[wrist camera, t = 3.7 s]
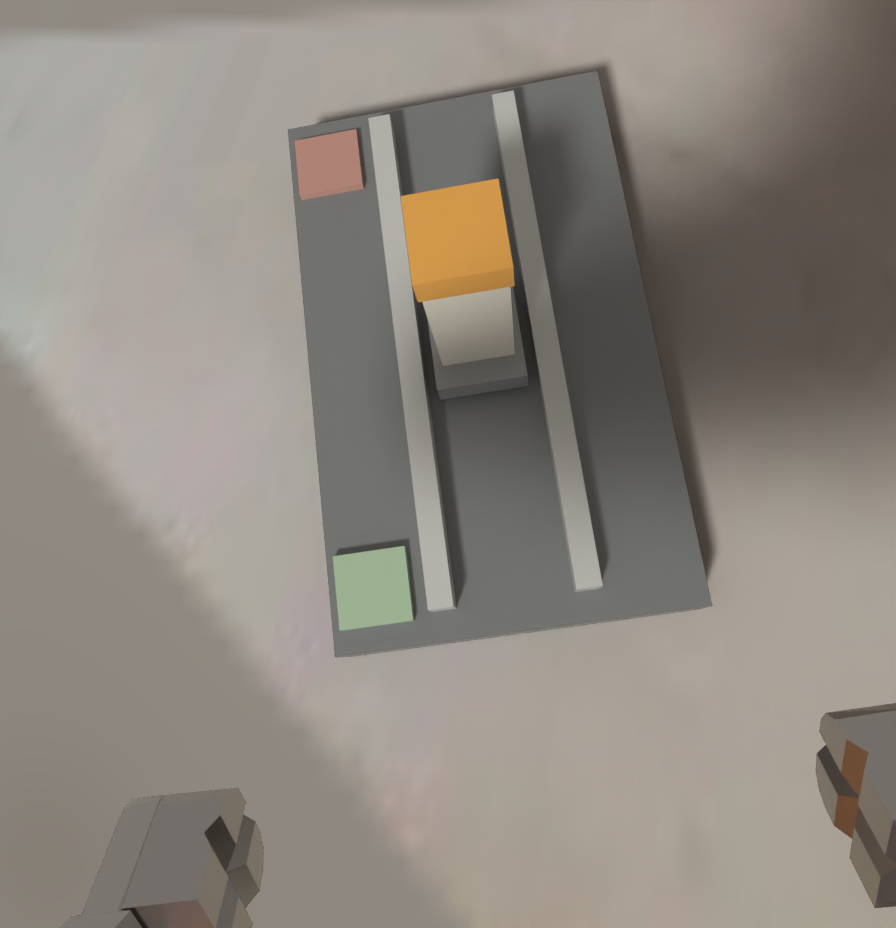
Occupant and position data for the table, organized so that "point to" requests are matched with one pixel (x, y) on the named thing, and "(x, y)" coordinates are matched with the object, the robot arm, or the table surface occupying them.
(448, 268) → the breaker lever
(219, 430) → the table surface
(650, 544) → the switch panel
